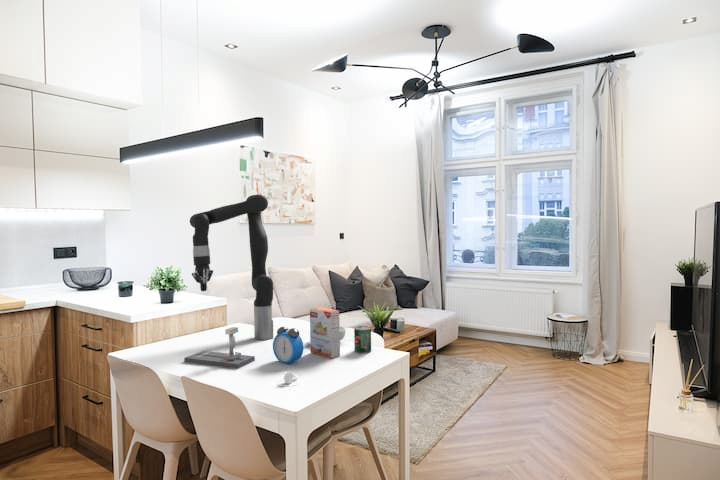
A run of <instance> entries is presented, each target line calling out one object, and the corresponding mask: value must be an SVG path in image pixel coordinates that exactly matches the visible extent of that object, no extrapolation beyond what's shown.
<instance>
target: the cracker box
mask: <svg viewBox="0 0 720 480" xmlns="http://www.w3.org/2000/svg"><path fill="white" fill-rule="evenodd" d="M309 321H310V322H309V326H310V327H309V329H310V330H309V331H310V332H309V333H310V334H309V335H310V336H309V338H310V339H309V341H310V342H309V343H310V353H311V354H314V355H317V356H322V357H324V358H328V359H334V358H337V357H340V355H341V343H340V342H341V340H340V327H341V326H340V310H337V309H331V308H327V307H319V306H317V307H312V308H309ZM339 326H340V327H339Z"/></svg>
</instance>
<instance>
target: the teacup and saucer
mask: <svg viewBox="0 0 720 480" xmlns="http://www.w3.org/2000/svg"><path fill="white" fill-rule="evenodd" d="M283 375H284V376H283V379H282V380H279V381H278V382H277V384H278V386H281V387H294V386H297V385H298V384H300V380H299V379H298V375H296V374H294V372H292V371H286V372H284V374H283ZM283 382H285V384H287V385H284V384H282V383H283ZM293 382H296V383H294V384H292V383H293ZM290 384H291V385H290Z"/></svg>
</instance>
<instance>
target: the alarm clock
mask: <svg viewBox="0 0 720 480" xmlns="http://www.w3.org/2000/svg"><path fill="white" fill-rule="evenodd" d="M272 342H273V343H272V351H273V354H274V356H275V357H276V359H277V361H278V363H282V364H285V365H287V364H289V365H292V363H293V362H295V361H298V360H300V359H301V358H302V357H303V356H302V355H304V354H303V353H304V343H303V342H304V341H303V339H302V338H301V336H300V331H299V329H297V328H288V327H286V326H280V327H279V328H278V329H277V330H276V335H275V337H273V341H272Z"/></svg>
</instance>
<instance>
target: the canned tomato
mask: <svg viewBox="0 0 720 480" xmlns="http://www.w3.org/2000/svg"><path fill="white" fill-rule="evenodd" d="M353 331H354V332H353V333H354V341H353V342H354V343H353V344H354V353H357V354H370V353H371V352H372V327H371V326H368V325H358V326H355V327H354V328H353Z"/></svg>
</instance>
